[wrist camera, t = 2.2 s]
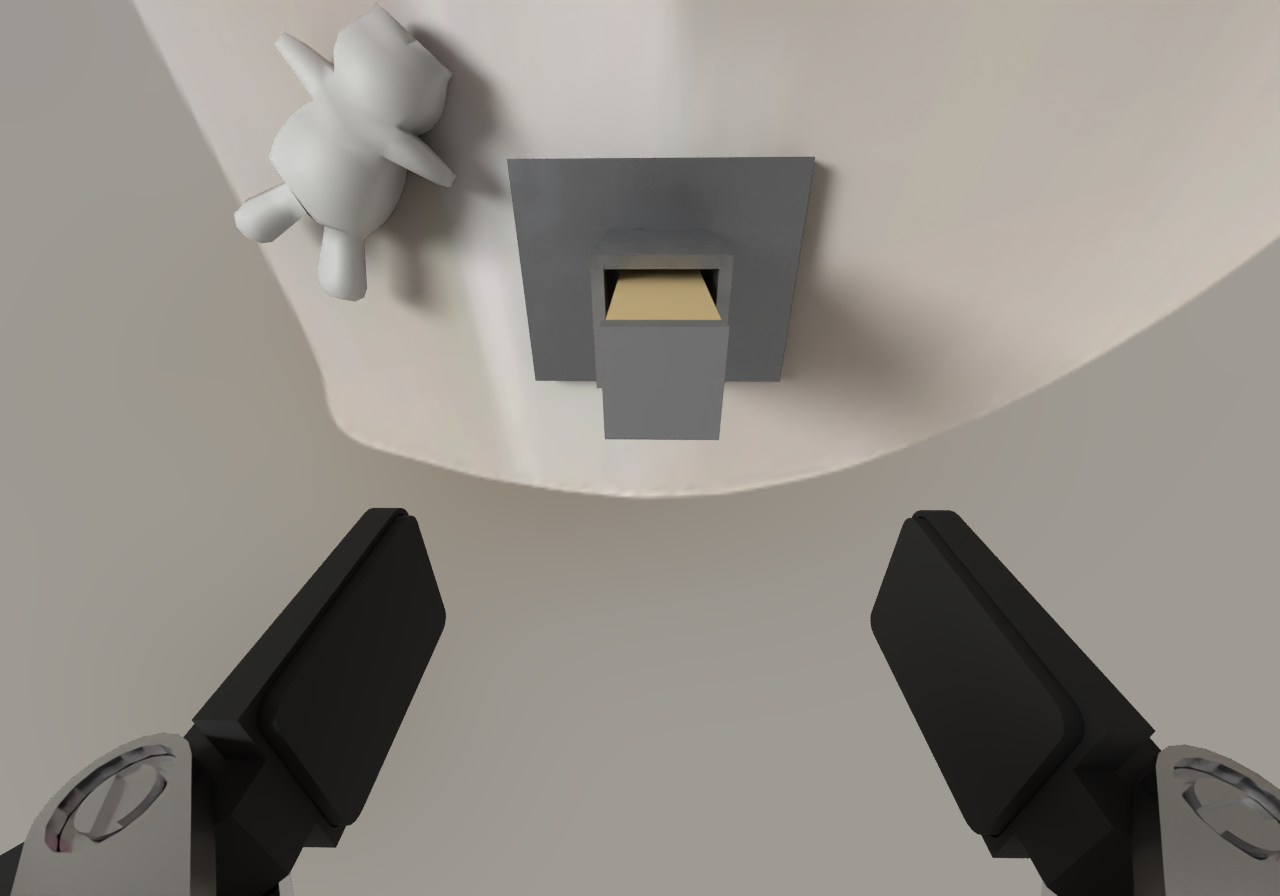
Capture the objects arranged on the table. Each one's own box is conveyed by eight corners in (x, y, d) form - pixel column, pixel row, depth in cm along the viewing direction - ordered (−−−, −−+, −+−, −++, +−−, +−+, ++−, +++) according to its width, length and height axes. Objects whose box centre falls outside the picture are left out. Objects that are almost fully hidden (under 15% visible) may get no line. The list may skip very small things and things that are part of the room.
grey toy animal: (481, 102, 24) (345, 323, 29) (502, 121, 29) (381, 309, 33) (302, -69, 21) (180, 209, 26) (357, -17, 26) (245, 211, 30)
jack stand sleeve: (807, 157, 28) (899, 150, 18) (774, 373, 36) (826, 460, 25) (513, 159, 29) (433, 154, 18) (540, 372, 36) (492, 457, 25)
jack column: (692, 249, 29) (729, 327, 15) (688, 318, 32) (718, 444, 17) (625, 249, 30) (599, 326, 15) (626, 318, 32) (605, 443, 17)
